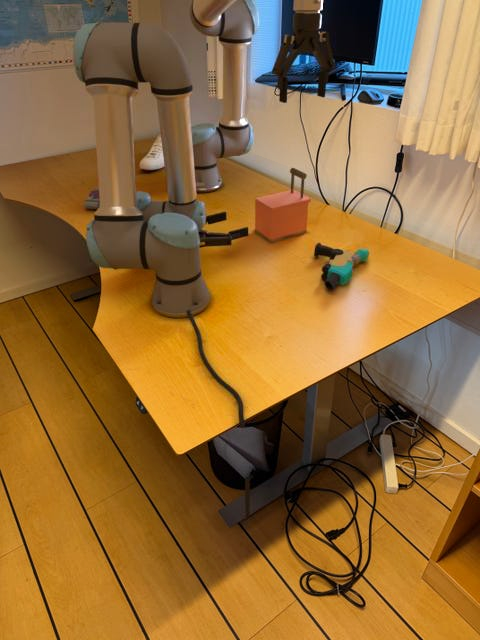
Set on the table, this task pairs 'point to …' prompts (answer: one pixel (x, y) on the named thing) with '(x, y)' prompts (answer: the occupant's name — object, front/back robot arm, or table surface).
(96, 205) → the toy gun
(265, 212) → the chest
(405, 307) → the table surface
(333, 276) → the toy gun
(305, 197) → the lid
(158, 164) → the sneaker
